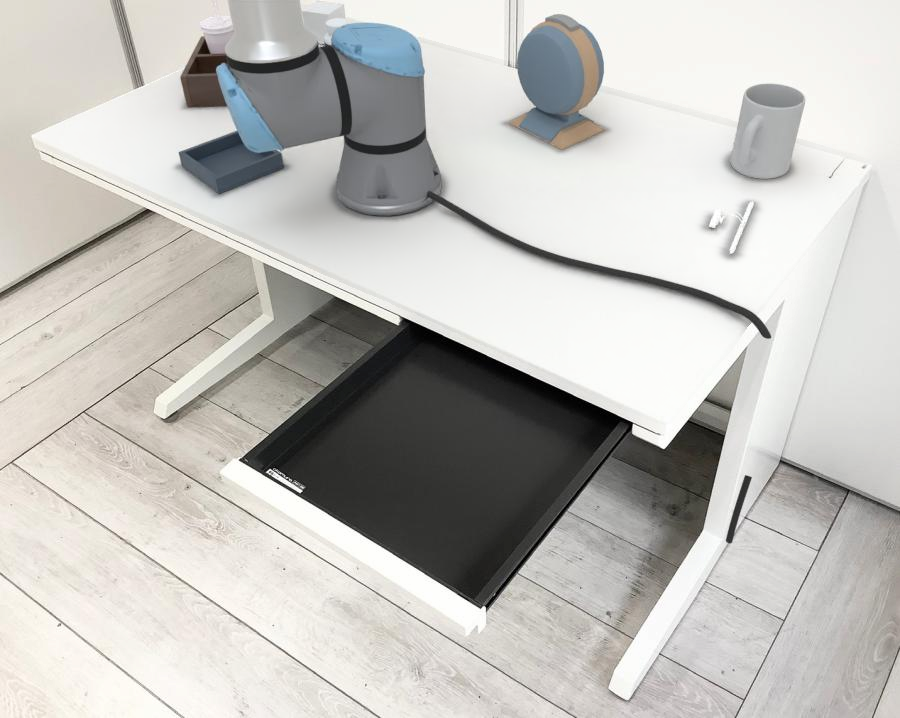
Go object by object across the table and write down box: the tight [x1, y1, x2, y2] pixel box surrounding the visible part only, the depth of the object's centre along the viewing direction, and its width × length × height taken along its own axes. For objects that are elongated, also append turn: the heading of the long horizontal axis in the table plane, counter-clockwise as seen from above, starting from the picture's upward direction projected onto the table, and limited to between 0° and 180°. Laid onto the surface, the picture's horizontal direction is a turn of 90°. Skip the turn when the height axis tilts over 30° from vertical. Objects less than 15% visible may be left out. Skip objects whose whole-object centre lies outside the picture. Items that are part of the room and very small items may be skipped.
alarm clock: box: [508, 13, 606, 151], centre depth 138 cm, size 14×10×18 cm
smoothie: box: [199, 0, 234, 54], centre depth 159 cm, size 6×6×14 cm
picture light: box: [708, 200, 755, 255], centre depth 120 cm, size 14×4×2 cm, turn 154°
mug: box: [730, 83, 806, 180], centre depth 128 cm, size 12×8×11 cm
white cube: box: [301, 0, 347, 45], centre depth 174 cm, size 6×6×6 cm
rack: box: [179, 35, 227, 108], centre depth 158 cm, size 18×10×6 cm, turn 1°
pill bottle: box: [323, 18, 349, 46], centre depth 161 cm, size 5×5×9 cm
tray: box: [178, 130, 285, 195], centre depth 136 cm, size 11×11×2 cm
